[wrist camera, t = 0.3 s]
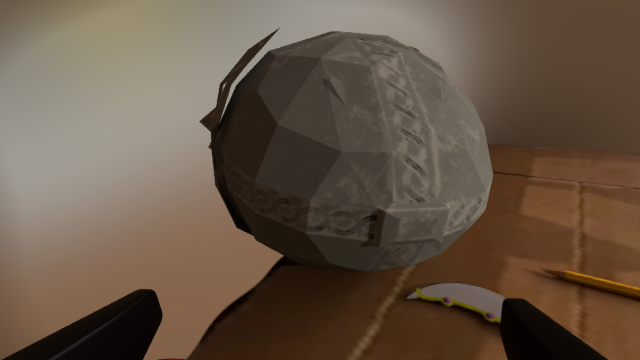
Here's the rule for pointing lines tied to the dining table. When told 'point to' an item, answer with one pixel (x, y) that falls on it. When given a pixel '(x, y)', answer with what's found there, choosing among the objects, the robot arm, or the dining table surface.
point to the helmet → (349, 153)
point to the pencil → (596, 282)
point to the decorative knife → (464, 298)
